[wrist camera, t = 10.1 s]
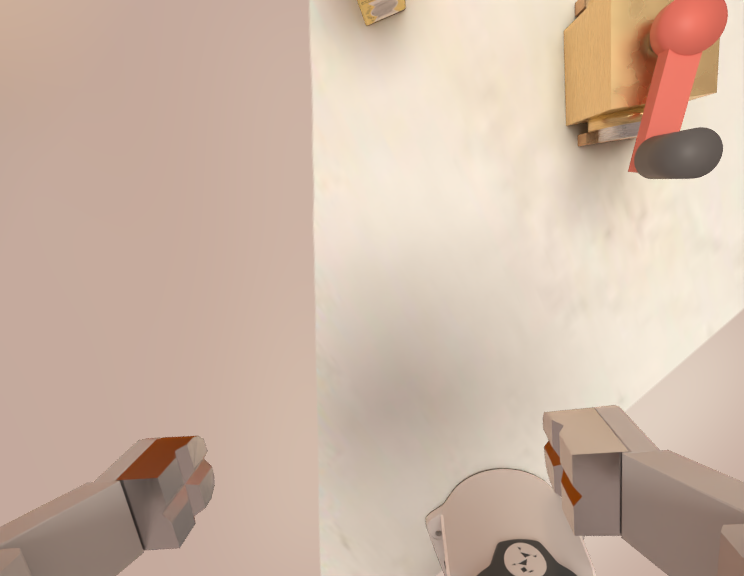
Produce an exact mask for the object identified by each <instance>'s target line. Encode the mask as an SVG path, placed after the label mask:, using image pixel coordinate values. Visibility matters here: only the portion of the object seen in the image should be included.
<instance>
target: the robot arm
mask: <svg viewBox="0 0 744 576" xmlns="http://www.w3.org/2000/svg"><path fill="white" fill-rule="evenodd" d="M543 430H544V432H545V434H546V436H547V438H548V440H549V441H548V442H547V444H546V445H545V446H544V453H545V463H546V468H547V473H548V477H549V480H550V483H551V485H552V487H553V488H552V487H551V486H550V485H549V484H548V483H546V482H545V481H544V480H542V479H540V478H539V477H537V476H535V475H532V474H530V473H527V472H523V471H519V470H513V469H495V470H489V471H485V472H481V473H478V474H476V475H473V476H471V477H470V478H468V479H466V480H465V481H463V482H462V483H461V484H459V485H458V486H457V487H456V488H455V489H454V490H453V492H452V493H451V494H450V496H449V498H448V499H447V501H446V502H445V503H444V504H443V505H442V506H441V507H439V508H437V509H436V510H434V511H433V512H431V513H430V514H429V515H428V516H427V517H426V527H427V530H428V533H429V536H430V538H431V541H432V544H433V546H434V549H435V552H436V554H437V557H438V560H439V562H440V565H441V568H442V570H443V573H444V575H445V576H596V572H595V569H594V566H593V564H592V561H591V559H590V556H589V554H588V551H587V549H586V546H585V544H584V541H583V540H584V536H622V538H623V539H624V540H625V541H626V542H628V543H629V544H630V545H631V546H632V547H634V548H635V549H636V550H637V551H639V552H640V553H641V554H642V555H644V556H645V557H646V558H647V559H649V560H650V561H651V562H652V563H654V564H655V565H656V566H657V567H658V568H660V569H661V570H662V571H663V572H665V573H666V574H667V575H669V576H744V482H742V481H740V480H737V479H735V478H733V477H730V476H728V475H726V474H723V473H721V472H719V471H716V470H714V469H712V468H709V467H707V466H705V465H702V464H700V463H698V462H695V461H693V460H690V459H688V458H686V457H684V456H681V455H679V454H677V453H674V452H672V451H669V450H659V448H658V447H656V445H655V444H654V443H653V442H652V441H651V440H650V439H649V438H648V437H647V436H646V435H645V434H644V433H643V431H642V430H641V429H639V427H638V426H637V425H636V424H635V423H634V422H633V421H632V420H631V418H630V417H629V416H628V415H627V414H626V413H625V412H624V411H623V410H622V409H621V408H620V407H619V406H616V405H611V406H601V407H592V408H583V409H572V410H562V411H551V412H544V414H543ZM207 451H208V450H207V448H206V444H205V441H204V439H203V438H201V437H200V436H183V437H163V438H160V437H159V438H147V439H142V440H138V441H137V442H136V443H135V444H134V445H133V446H132V447H131V448H130V449H128V450H127V451H126V452H125V453H124V454H123V455H122V456H121V457H120V458H119V459H118V460H117V461H115V463H113V464H112V465H111V466H110V467H109V468H108V469H107V470H106V471H105V472H104V473H103V474H102V475H100V476H99V477H98V478H97V479H96V480H95V481H94V482H91V483H85V484H84V485H81V486H80V487H78V488H76V489H74V490H72V491H70V492H68V493H66V494H64V495H62V496H60V497H58V498H56V499H54V500H52V501H50V502H48V503H46V504H44V505H42V506H40V507H38V508H36V509H34V510H32V511H30V512H28V513H27V514H24V515H23V516H21V517H19V518H17V519H15V520H13V521H11V522H9V523H7V524H5V525H3V526H1V527H0V576H116V575H118V574H119V573H120V572H121V571H122V570H124V569H125V568H126V567H127V566H128V565H129V564H131V563H132V562H133V561H134V560H135V559H137V558H138V557H139V556H140V555H142V553H144V550H158V549H174V548H180V547H181V545H182V544H183V542H184V541H185V539H186V537H187V536H188V534H189V533H190V531H191V530H192V528H193V526H194V525H195V518H194V516H195V515H197V514H198V513H199V512H201V511H202V510H203V509H205V508H206V506H207V505H208V503H209V501H210V500H211V498H212V494H213V490H214V486H215V485H214V473H213V469H212V466H211V465H210V464H209V463H208V462H207V461H206V460H205V459H204V457H205V456H206V453H207ZM560 496H561V497H562V498H561V497H560Z"/></svg>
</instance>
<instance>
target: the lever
mask: <svg viewBox="0 0 744 576" xmlns="http://www.w3.org/2000/svg"><path fill="white" fill-rule="evenodd" d="M727 17H728V11H727V6H726V3H725V1H724V0H674V1H673V2H671V3H670V4H668V5H667V6H666V7H664V8H663V9H662V10H661V11H660V12H659V13H658V15H657V16H656V17H655V19H654V21H653V23H652V26H651V29H650V44H651V47H652V49H653V51H654V52H655V54H656V55H657V56H658V58H657V62H656V66H655V69H654V73H653V77H652V81H651V85H650V89H649V93H648V96H647V100H646V104H645V108H644V112H643V116H642V119H641V123H640V127H639V131H638V135H637V139H636V143H635V146H634V150H633V154H632V158H631V162H630V166H629V170H628V172H636V173H639V174H640V175H642V176H643V177H645V178H648V179H690V178H699V177H702V176H704V175H706V174H708V173H709V172H711V171H712V170H713V169H714V168H715V167H716V166H717V164H718V163H719V161H720V159H721V156H722V152H723V144H722V141H721V138H720V137H719V135H718V134H717V133H716V132H715V131H713V130H711V129H708V128H701V127H700V128H694V129H688V130H683V131H680V129H681V125H682V122H683V118H684V115H685V111H686V108H687V104H688V101H689V97H690V93H691V90H692V86H693V83H694V79H695V76H696V72H697V69H698V65H699V62H700V58H701V55H702V51H704V50H706V49H707V48H709V47H710V46H712V45H713V44H714V43H715V42H716V41H717V40H718V39H719V37H720V36H721V34H722V33H723V31H724V29H725V26H726V23H727Z"/></svg>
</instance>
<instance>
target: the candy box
mask: <svg viewBox="0 0 744 576" xmlns="http://www.w3.org/2000/svg"><path fill="white" fill-rule="evenodd" d="M357 2H358V4H359V7H360V10H361V13H362V16H363V18H364V21H365V24H366V26H368V25H370V24H372V23H374V22H377V21H379V20H381V19H383V18H385V17H388V16H390V15H393V14H395V13H397V12H399V11H402V10H404V9H405V7H406V5H405V0H357Z"/></svg>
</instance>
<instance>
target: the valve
mask: <svg viewBox="0 0 744 576" xmlns="http://www.w3.org/2000/svg"><path fill="white" fill-rule="evenodd" d="M673 1H674V0H578V1H577V2H576V3H575V16H578V17H577V18H576V19H575V20H574V21H573V22H572V23H571V24H570V25H569V26H568V27H567V28H566V29H565V30H564V59H565V98H566V126H568V125H575V124H581V123H587V122H588V133H584V134H580V135H578V146H584V145H590V144H597V143H604V142H611V141H617V140H624V139H631V138H637V135H638V131H639V127H640V123H641V119H642V116H643V112H644V108H645V104H646V100H647V96H648V93H649V89H650V85H651V81H652V77H653V73H654V69H655V66H656V62H657V58H658V56H657V55H656V54H655V52H654V51H653V49H652V47H651V44H650V29H651V26H652V23H653V21H654V19H655V17H656V16H657V15H658V13H659V12H660V11H661V10H662V9H663V8H664V7H666V6H667V5H668V4H670V3H671V2H673ZM719 41H720V37H719V39H718V40H717V41H716V42H715V43H714V44H713V45H712V46H710V47H709V48H707V49H706V50H704V51H702V55H701V58H700V62H699V65H698V69H697V72H696V76H695V79H694V83H693V86H692V90H691V93H690V97H689V101H690V100H693V99H696V98H700V97H703V96H707V95H710V94H713V93H717V76H718V58H719Z"/></svg>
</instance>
